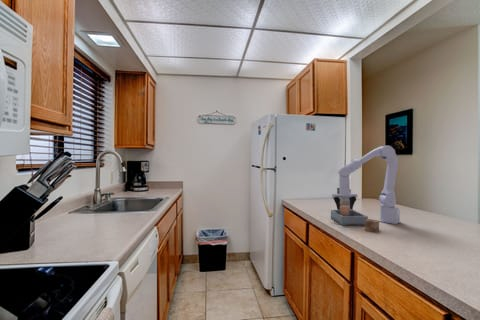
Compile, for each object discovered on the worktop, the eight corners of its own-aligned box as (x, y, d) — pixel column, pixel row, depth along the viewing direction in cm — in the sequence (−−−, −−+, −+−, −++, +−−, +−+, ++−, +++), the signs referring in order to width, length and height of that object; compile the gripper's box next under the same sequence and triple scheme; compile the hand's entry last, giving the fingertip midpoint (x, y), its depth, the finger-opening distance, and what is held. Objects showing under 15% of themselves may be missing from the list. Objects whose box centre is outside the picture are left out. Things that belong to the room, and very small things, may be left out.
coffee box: (336, 209, 176) (336, 187, 176) (345, 209, 176) (345, 187, 176) (341, 212, 167) (341, 189, 167) (351, 212, 167) (351, 189, 167)
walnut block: (379, 230, 126) (378, 220, 126) (375, 232, 122) (375, 222, 122) (368, 228, 129) (368, 219, 129) (365, 230, 126) (364, 220, 126)
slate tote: (330, 217, 153) (330, 209, 153) (353, 217, 152) (353, 209, 152) (341, 225, 135) (341, 216, 135) (367, 225, 134) (367, 216, 134)
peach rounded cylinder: (350, 218, 147) (350, 206, 147) (346, 219, 144) (346, 207, 144) (342, 216, 151) (342, 205, 151) (338, 217, 148) (338, 206, 148)
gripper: (353, 186, 151) (354, 208, 151) (330, 186, 152) (330, 208, 152) (359, 187, 144) (359, 210, 144) (334, 187, 145) (334, 210, 145)
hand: (344, 209), depth 148 cm, fingers open, 7 cm apart
